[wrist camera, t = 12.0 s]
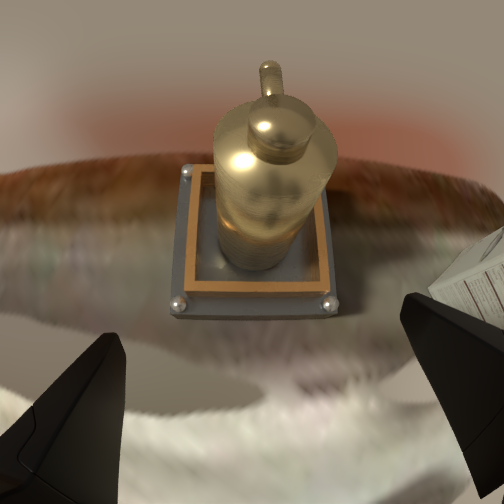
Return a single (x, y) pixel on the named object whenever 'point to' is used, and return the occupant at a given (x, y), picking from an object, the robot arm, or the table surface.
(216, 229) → the grey square tray
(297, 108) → the spout can
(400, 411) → the table surface
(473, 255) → the supplement box
